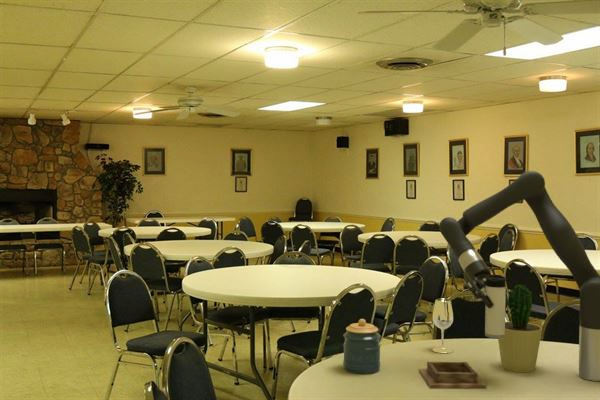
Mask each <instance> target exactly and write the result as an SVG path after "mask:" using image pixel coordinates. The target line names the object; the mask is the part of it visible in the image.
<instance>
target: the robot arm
mask: <svg viewBox="0 0 600 400" xmlns="http://www.w3.org/2000/svg"><path fill="white" fill-rule="evenodd" d="M521 201H525V202H526V203H527V205H528V206H529V208H530V209H531V212H533V214H534V216H535V218H536V220H537V222H538V225H539V226H540V229H541V231H542V233H543V234H544V236H545V238H546V241H547V242H548V244H549V245H550V247H551V249H552V250H553V252H554V253H555V255H556V256H557V257H558V258H559V260H560V261H561V262H562V263H563V264H564V266H565V267H566V269H568V270H569V272H570V274H571V275H572V277H573V279H574V281H575V284H576V286H577V288H578V290H579V336H578V338H579V339H578V340H579V341H578V342H579V343H578V344H579V345H578V377H579V378H581V379H584V380H587V381H593V382H594V381H595V382H600V274H599V272H598V271H597V270H596V268H595V267H594V266H593V264H592V262H591V261H590V259H589V257H588V255H587V252H586V250H585V247H584V245H583V244H582V242H581V241H582V240H580V237H579V236H578V234H577V233H576V231H575V229H574V227H573V226H572V225H571V223H570V221H568V219H567V218H566V216H564V214H563V213H562V212H561V211H560V209H558V206H556V205H555V203H554V202H553V200H552V199H551V197H550V195H549V193H548V191H547V188H546V181H545V178H544V176H543V175H542V174H541V173H540V172H537V171H534V170H528V171H525V172H523V173H521V174H520V175H519V176H518V177H517V178H516V179H515V180H514V181H513V182H512V183H510V184H509V185H507V186H506V187H505V188H503V189H501V190H500V191H498V192H496V193H494V194H493V195H491V196H488V197H487V198H485V199H483V200H481V201H479V202H478V203H475V204H474V205H472V206H470V207H469V208H467V209H466V210H464V211H463V212H462V216H461V218H460V219H458V220H456V218H454V217H450V216H449V217H448V216H447V217H444V218H443V219H441V221H440V222H439V226H438V228H439V232H440V233H441V235H442V237H443V238H444V240H445V241H446V243H447V244H448V245H449V247H450V248H451V250H452V252H453V254H454V256H455V257H456V259H457V260H458V263H459V265H460V267H461V268H462V270H463V272H464V273H465V275H466V276H467V278H468V280H469V281H468V282H467V284H466V286H467V288H468V289H469V290H470V292H471V293H472V295H473V296H474V298H475V299H480V300H482V301H483V303H484V304H485V306H487V307H488V308H492V307H493V303H492V301H491V299H490V298H489V296H487V292H486V277H488V276H491V270H490V269H489V267H488V265H487V264H486V262H485V261H484V259H483V257H482V256H481V254H480V253H479V252H478V251H477V250H476V248H475V246H474V245H473V243H472V242H471V241H470V239H469V238H468V237H467V235H469V234H471V232H473V231H474V229H475V228H477V227H479V226H481V225H482V224H484V223H485V222H486V223H487V221H489V220H491V219H493V218H494V217H496V216H497V215H498V214H500V213H502V212H503V211H505V210H506V209H508V208H509V207H511V206H512V205H515V204H517V203H519V202H521ZM505 289H506V293H507V292H508V290H507V287H506V288H505ZM508 304H509V302H508V297H506V296H505V308H506V307H508V306H507V305H508Z"/></svg>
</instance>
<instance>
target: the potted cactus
mask: <svg viewBox="0 0 600 400" xmlns="http://www.w3.org/2000/svg"><path fill="white" fill-rule="evenodd" d="M531 293H533V291H531V292H530V290H529V288H528V287H526V284H524V285H523V284H519V283H518V284H516V285H515V286H514V288H513V289H512V288H510V293H509V294H508V296H507V300H508V302H509V304H508V305H507V306H506V307H507V309H509V314H510V319H511V321H505V337H504V338H497V342H498V348H499V356H500V365H501V367H502V368H503V369H505V370H506V371H511V372H516V373H531V372H533V371H534V372H535V370H536V366H537V360H538V354H539V347H540V343H541V336H542V329H543V327H541V326H540V325H538V324H534V323H530V318H531V317H530V316H531V312H533V311H534V307H533V302H532V294H531Z"/></svg>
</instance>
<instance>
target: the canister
mask: <svg viewBox="0 0 600 400" xmlns="http://www.w3.org/2000/svg"><path fill="white" fill-rule="evenodd" d="M345 330H346V332H344V333H343V337H344V343H343V360H342V361H343V362H342V364H343V369H344V371H346V372H349V373H353V374H360V375H361V374H362V375H363V374H366V375H368V374H369V375H370V374H374V373H378V372H379V371H380V367H381V347H382V346H381V344H380V339H381V335H380V334H379V333H378V331H379V328H378V327H377V326H375V325H374V324H371V323H367V321H366V319H364V318H360V319H359V320H358V322H356V323H351V324H349V325H348V326H346V328H345Z"/></svg>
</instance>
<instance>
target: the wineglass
mask: <svg viewBox="0 0 600 400" xmlns="http://www.w3.org/2000/svg"><path fill="white" fill-rule="evenodd" d="M432 322H433V324H434V325H435V327H437V328H439V329H440V330H441V346H440V347H433V348H432V351H433V352H435V353H438V354H450V353H452V352H453V350H452V349H451V348H448V347H445V345H444V336H445V335H444V333H445V330H447V329H448V328H450V327H451V325H452V324H453V322H454V312H453V307H452V301H451V299H448V298H436V299H435V301H434V306H433V311H432Z"/></svg>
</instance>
